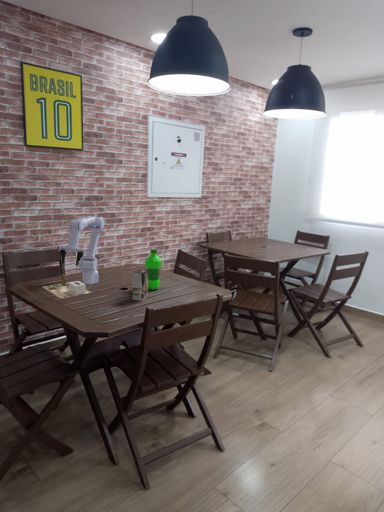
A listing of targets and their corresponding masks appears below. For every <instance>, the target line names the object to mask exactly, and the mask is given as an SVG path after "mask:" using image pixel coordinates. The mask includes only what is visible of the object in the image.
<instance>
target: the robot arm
mask: <svg viewBox="0 0 384 512" xmlns="http://www.w3.org/2000/svg"><path fill="white" fill-rule="evenodd" d="M104 226H105V219H104V217H103V216H91V215H89V216H87V218H86V217H83V216H81V217H80V218H77V219H76V220H74V219H72V220H70V222H69V224H68V228H69V231H68V232H69V235H68V236H69V237H68V242H67V246H59V247H58V251H59V253H60V257H61V264H63V265H64V264H65V261H66V256H67V253H68V252H69V253H70V252H71V253H76V261H75V266H79V269H80V270H81V272H82V275H81V276H82V283H84V284H86V285H93V284H96V283H99V280H100V279H99V277H100V276H99V272H98V270H97V268H98V259H97V257H95V255H96V251H97V248H98V244H99V239H100V236H101V233H102V232H103V230H104V228H105V227H104ZM87 227H88V229H89V231H91V236H90V239H89V243H88V246H87V251H86V249H83V248H79V244H80V238H81V232H82V231H83V230H84V229H85V228H87ZM84 254H85V255H84Z"/></svg>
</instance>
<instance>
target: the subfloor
mask: <svg viewBox="0 0 384 512" xmlns="http://www.w3.org/2000/svg"><path fill="white" fill-rule="evenodd" d="M69 282H70V281H68V282H66V283H65V286H62V283H61V282H60V283H55V284H51V285H44V286H42V288H43V289H45V290H47V291H48V292H49V293H51V294H52V295H54V296H55V297H57V298H59V299H63V298H70V297H76V296H82V295H86V294H92V293H93V292H92V291H90V290H88V289H86V293H83V294H78V295H76V294H74V293H72V292H71V291H69Z"/></svg>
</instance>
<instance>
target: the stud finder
mask: <svg viewBox="0 0 384 512" xmlns="http://www.w3.org/2000/svg"><path fill="white" fill-rule="evenodd" d="M68 282H69V291H71V292H72V293H74V294H76V296H79V295H78V294H82V295H84V294H83V293H86V288H87V284H84V283H83V281H80V280H75V281H68Z"/></svg>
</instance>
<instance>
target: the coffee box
mask: <svg viewBox="0 0 384 512" xmlns="http://www.w3.org/2000/svg"><path fill="white" fill-rule="evenodd" d="M148 294H149V288H148V270H147V269H138V268H137V269H136V270H135V271H134V272H133V273H132V300H133V301H139V302H143V301H145V300H146V298H148Z"/></svg>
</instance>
